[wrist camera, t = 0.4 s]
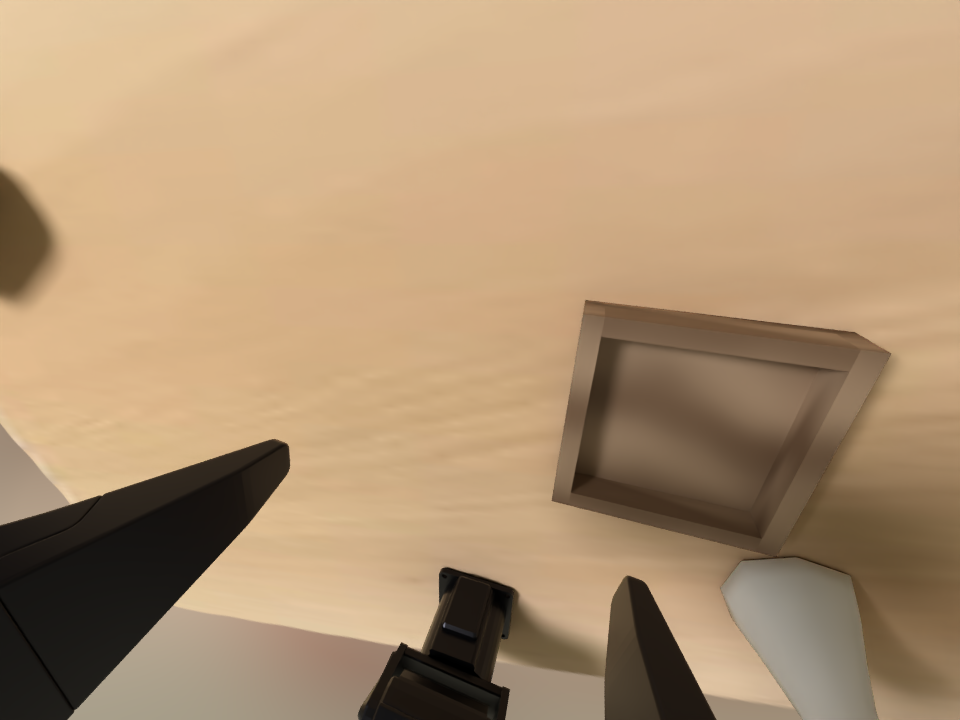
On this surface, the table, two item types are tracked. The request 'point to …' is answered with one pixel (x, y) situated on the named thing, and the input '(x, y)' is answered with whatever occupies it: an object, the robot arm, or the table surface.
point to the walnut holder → (707, 420)
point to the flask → (805, 634)
